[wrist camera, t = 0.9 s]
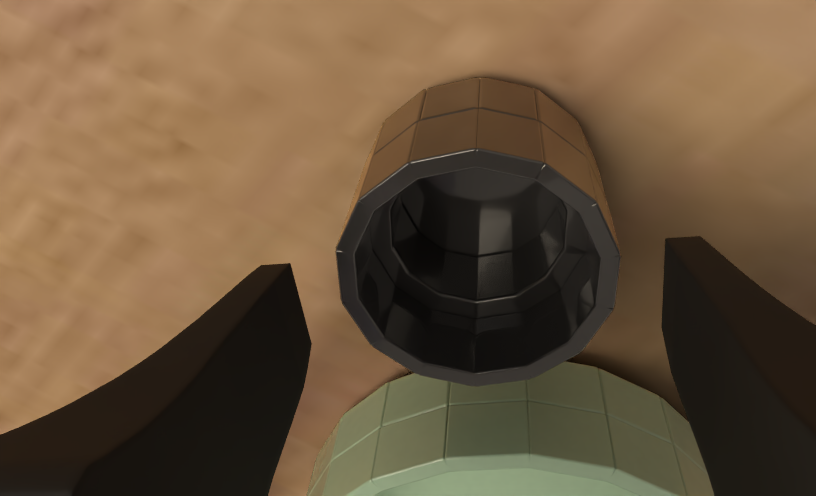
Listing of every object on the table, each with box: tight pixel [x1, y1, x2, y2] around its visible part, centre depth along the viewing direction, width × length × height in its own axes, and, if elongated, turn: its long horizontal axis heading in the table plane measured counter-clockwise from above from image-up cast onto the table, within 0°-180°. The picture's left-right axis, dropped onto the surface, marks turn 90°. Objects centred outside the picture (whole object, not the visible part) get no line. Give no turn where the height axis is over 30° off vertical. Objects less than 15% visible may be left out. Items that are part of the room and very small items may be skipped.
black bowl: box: [335, 77, 621, 387], centre depth 17 cm, size 6×6×4 cm
